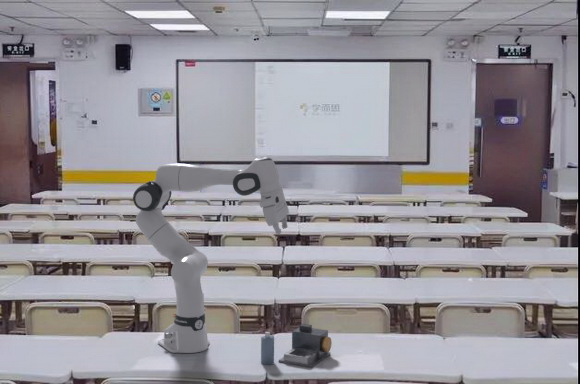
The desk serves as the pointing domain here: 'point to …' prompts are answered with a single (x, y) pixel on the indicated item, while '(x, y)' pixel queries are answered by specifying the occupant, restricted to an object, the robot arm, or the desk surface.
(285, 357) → the gray recessed holder
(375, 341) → the desk surface
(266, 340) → the bottle
